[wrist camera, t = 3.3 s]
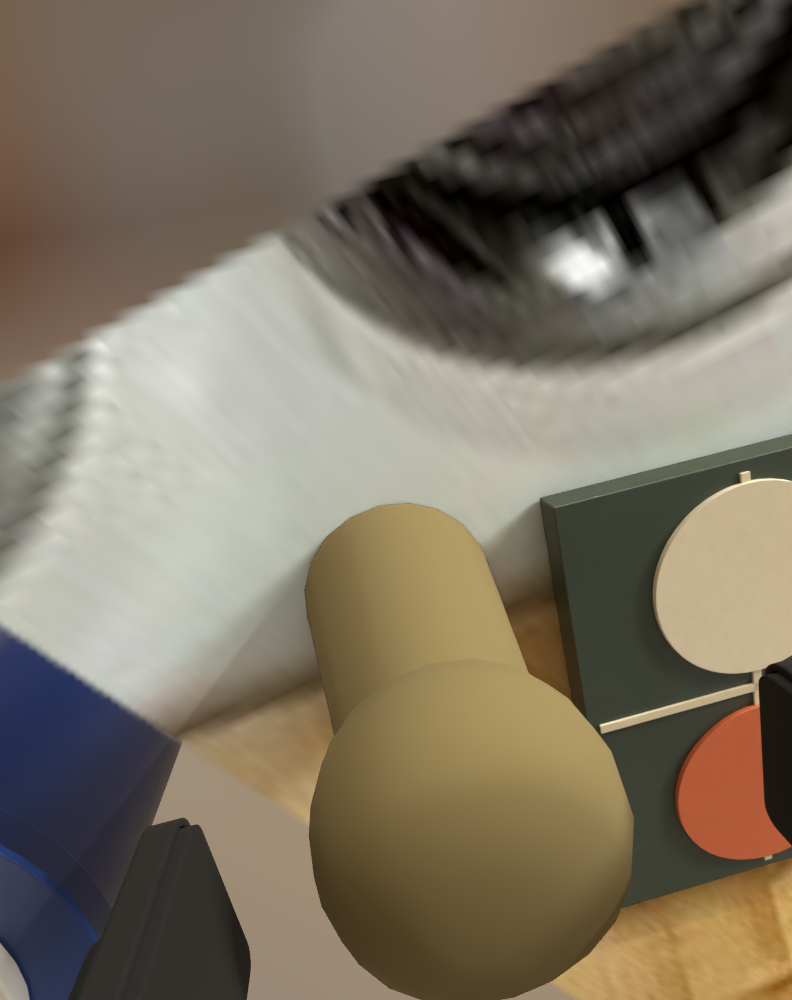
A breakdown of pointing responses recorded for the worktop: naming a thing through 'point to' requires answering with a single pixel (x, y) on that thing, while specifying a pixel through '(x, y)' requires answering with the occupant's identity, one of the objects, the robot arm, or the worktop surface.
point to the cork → (452, 773)
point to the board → (680, 649)
